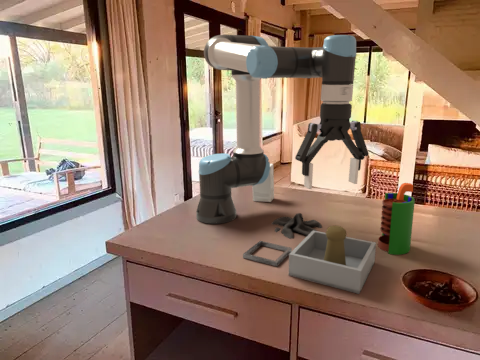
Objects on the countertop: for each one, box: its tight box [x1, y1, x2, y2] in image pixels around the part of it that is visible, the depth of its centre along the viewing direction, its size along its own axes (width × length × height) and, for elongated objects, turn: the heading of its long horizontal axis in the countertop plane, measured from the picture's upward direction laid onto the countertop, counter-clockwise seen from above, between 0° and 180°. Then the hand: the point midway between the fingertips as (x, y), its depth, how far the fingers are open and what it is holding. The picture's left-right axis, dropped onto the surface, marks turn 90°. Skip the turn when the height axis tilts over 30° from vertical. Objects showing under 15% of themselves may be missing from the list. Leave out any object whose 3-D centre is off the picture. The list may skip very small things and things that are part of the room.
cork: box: [324, 225, 347, 265], centre depth 96 cm, size 6×6×11 cm
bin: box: [288, 230, 377, 295], centre depth 97 cm, size 18×18×6 cm
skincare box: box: [251, 163, 275, 203], centre depth 155 cm, size 8×7×16 cm
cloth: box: [271, 212, 323, 240], centre depth 124 cm, size 22×19×6 cm
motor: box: [377, 182, 416, 256], centre depth 108 cm, size 10×9×20 cm
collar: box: [242, 240, 293, 267], centre depth 106 cm, size 11×11×1 cm
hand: (330, 185), depth 95 cm, fingers open, 13 cm apart
